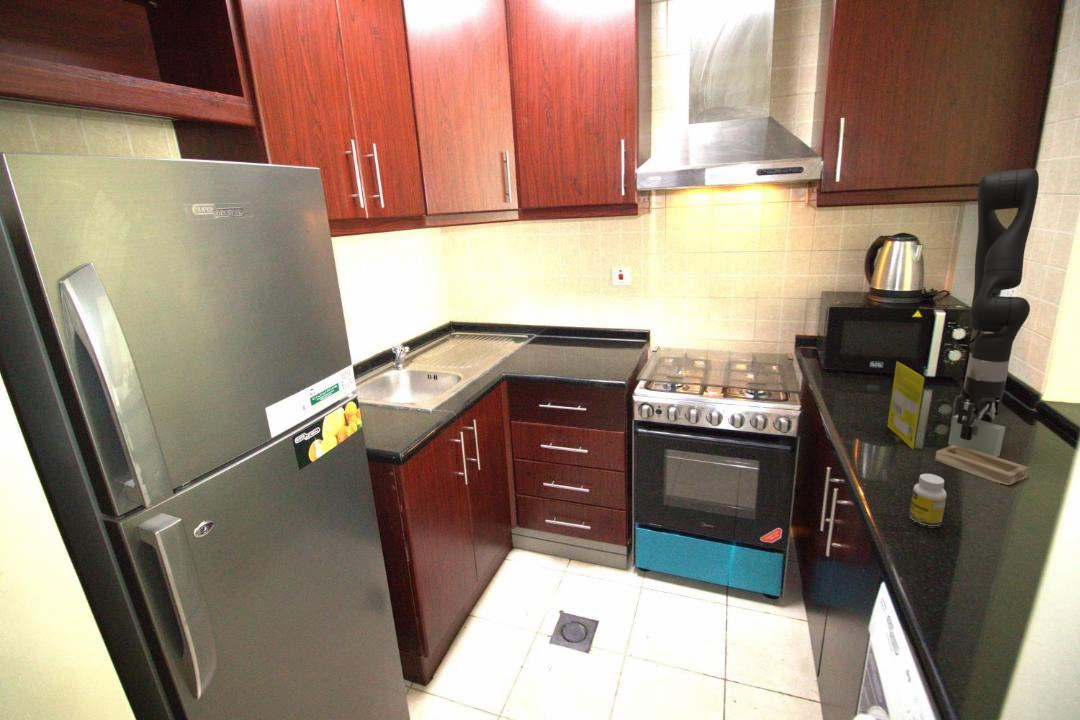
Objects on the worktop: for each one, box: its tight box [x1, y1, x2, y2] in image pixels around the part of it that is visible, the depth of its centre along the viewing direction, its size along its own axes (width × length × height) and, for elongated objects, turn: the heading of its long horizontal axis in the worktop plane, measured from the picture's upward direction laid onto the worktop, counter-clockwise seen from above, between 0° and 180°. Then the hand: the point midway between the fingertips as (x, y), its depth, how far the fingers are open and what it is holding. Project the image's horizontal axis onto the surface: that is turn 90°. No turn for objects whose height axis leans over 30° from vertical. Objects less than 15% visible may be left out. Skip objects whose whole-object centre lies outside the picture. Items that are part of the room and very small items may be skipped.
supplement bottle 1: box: [908, 473, 947, 527], centre depth 104 cm, size 5×5×10 cm
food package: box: [887, 360, 925, 450], centre depth 139 cm, size 15×1×20 cm, turn 168°
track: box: [934, 444, 1030, 485], centre depth 123 cm, size 8×15×3 cm, turn 25°
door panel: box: [947, 415, 1006, 458], centre depth 132 cm, size 3×10×8 cm, turn 25°
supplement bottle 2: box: [950, 385, 982, 426], centre depth 143 cm, size 7×7×12 cm
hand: (974, 435), depth 132 cm, fingers open, 8 cm apart
